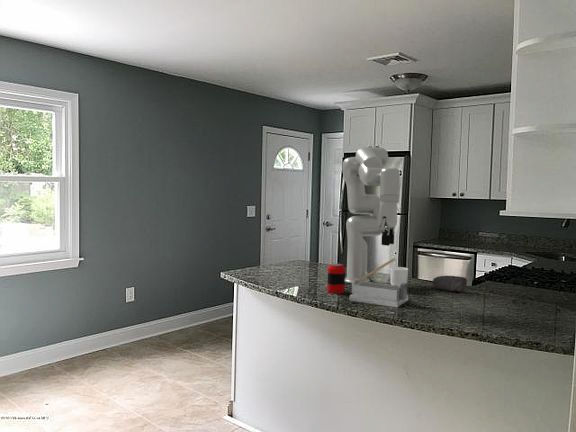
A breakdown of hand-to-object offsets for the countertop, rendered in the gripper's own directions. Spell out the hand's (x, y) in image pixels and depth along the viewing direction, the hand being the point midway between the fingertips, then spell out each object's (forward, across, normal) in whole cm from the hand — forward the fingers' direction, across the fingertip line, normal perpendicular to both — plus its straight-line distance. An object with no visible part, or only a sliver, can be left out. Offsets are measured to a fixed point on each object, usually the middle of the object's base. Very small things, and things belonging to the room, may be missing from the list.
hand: (387, 244), depth 198 cm
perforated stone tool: (+24, -36, +17) cm, 46 cm away
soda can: (+24, -4, -24) cm, 34 cm away
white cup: (+24, -23, -2) cm, 33 cm away
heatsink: (+23, 0, -3) cm, 24 cm away
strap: (+12, 0, -5) cm, 13 cm away
